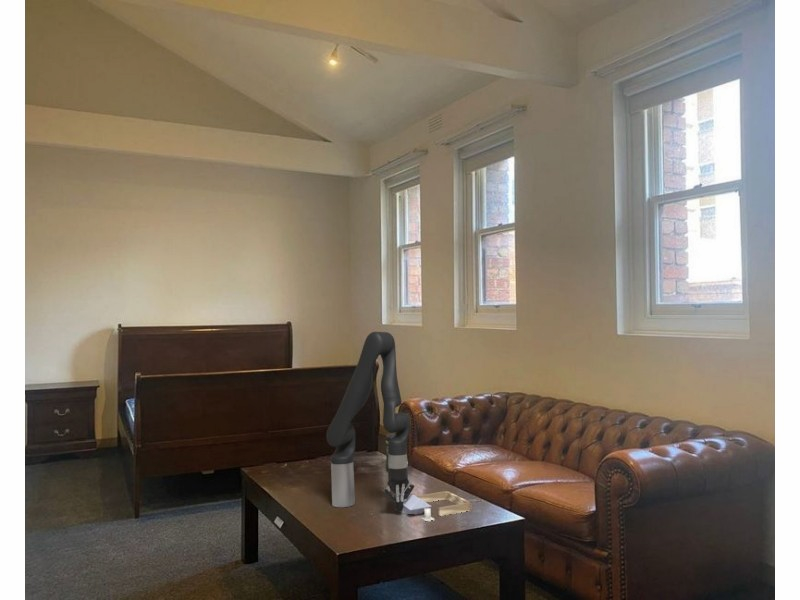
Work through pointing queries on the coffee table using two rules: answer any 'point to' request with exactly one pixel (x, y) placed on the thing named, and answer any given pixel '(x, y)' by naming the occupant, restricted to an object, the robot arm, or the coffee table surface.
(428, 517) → the clip gate
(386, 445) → the coffee jar
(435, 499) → the frame
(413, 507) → the wedge on round base
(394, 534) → the coffee table surface
